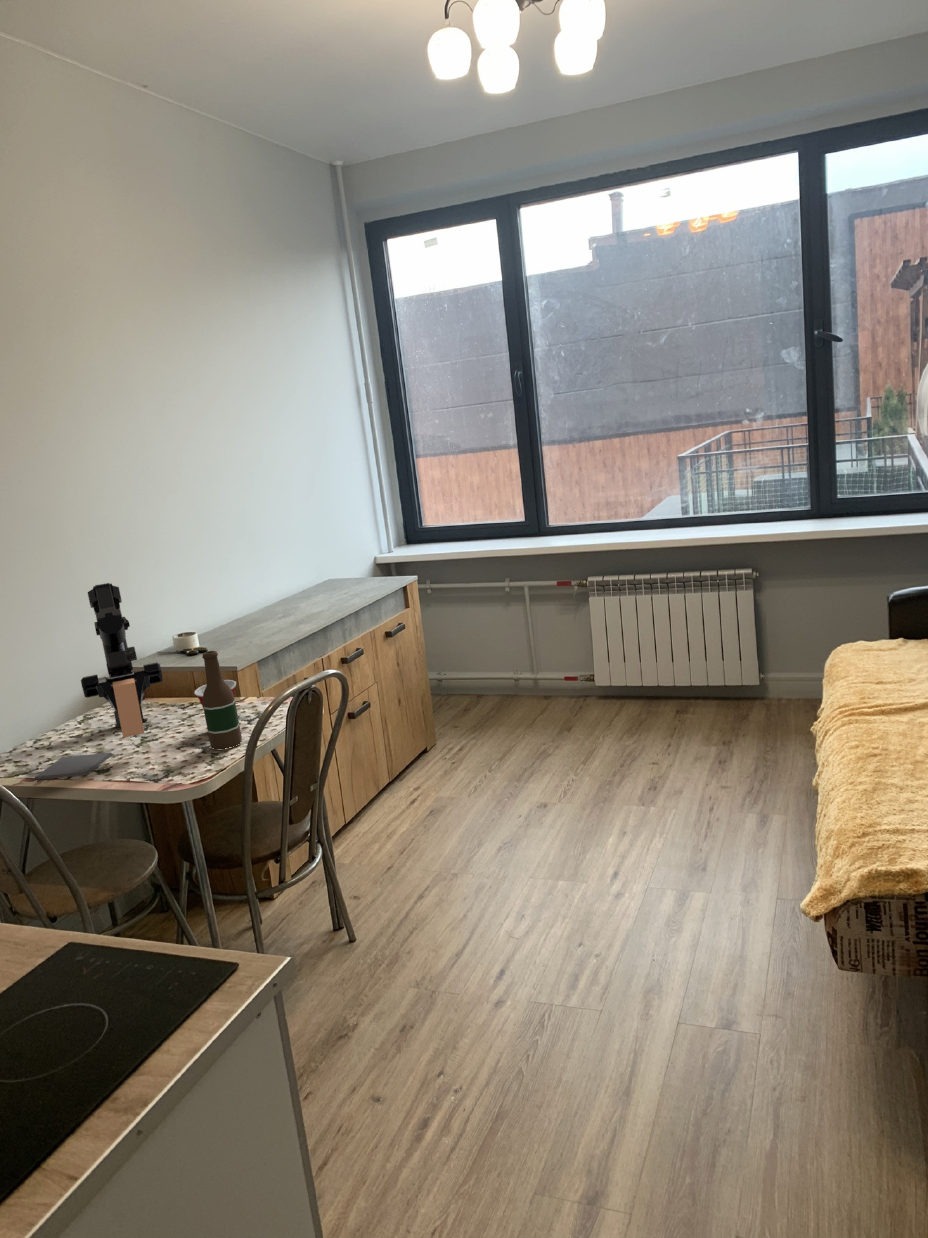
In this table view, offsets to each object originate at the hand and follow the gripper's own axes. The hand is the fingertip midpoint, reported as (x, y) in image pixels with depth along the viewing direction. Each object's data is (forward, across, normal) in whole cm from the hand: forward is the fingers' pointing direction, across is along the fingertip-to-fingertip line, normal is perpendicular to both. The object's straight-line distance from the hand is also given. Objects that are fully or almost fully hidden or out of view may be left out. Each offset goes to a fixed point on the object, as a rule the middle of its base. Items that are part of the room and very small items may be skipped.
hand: (128, 708), depth 227 cm
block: (+4, 0, +6) cm, 7 cm away
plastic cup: (+4, +22, +15) cm, 27 cm away
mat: (+6, -15, +13) cm, 20 cm away
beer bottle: (+14, +21, +4) cm, 25 cm away
